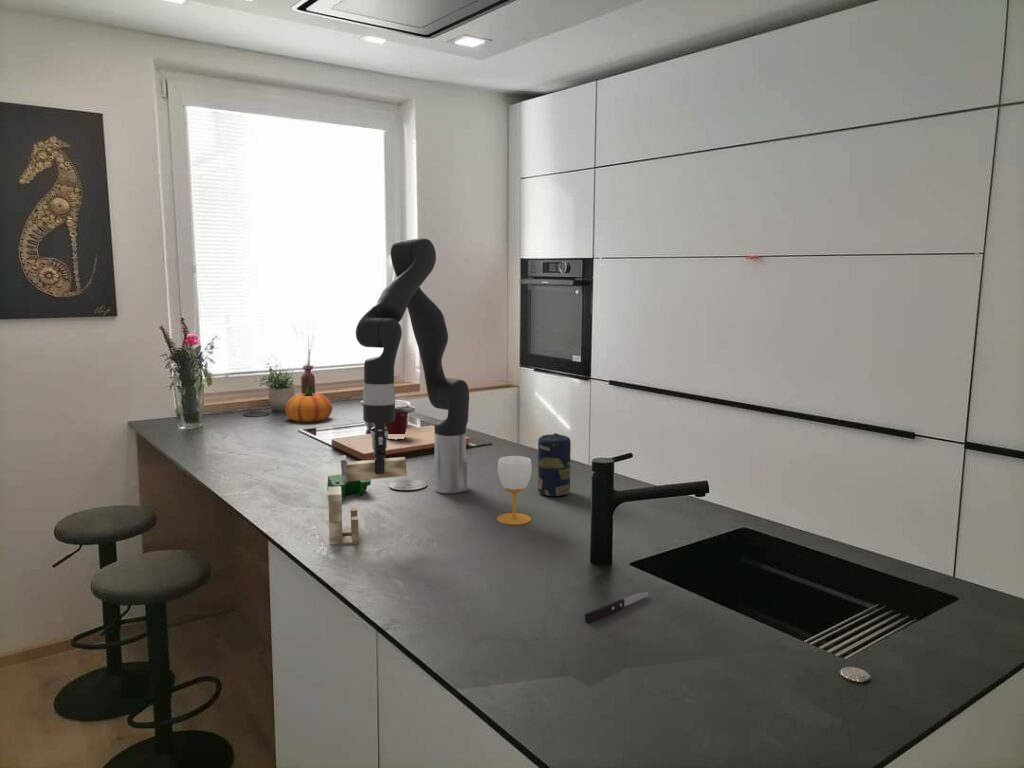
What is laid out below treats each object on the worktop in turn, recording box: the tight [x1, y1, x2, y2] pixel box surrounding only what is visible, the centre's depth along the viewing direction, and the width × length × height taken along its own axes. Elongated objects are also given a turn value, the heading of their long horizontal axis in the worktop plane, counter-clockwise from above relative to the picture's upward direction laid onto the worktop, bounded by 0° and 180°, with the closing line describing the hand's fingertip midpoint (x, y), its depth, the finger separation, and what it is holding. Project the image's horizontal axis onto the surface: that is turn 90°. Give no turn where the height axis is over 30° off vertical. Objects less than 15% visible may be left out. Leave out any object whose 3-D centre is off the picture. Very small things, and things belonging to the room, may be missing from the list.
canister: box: [537, 432, 572, 497], centre depth 214 cm, size 10×10×18 cm
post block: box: [327, 486, 360, 546], centre depth 176 cm, size 7×9×12 cm
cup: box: [496, 455, 533, 526], centre depth 191 cm, size 9×9×16 cm
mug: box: [385, 407, 408, 434], centre depth 284 cm, size 12×9×11 cm
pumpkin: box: [284, 385, 333, 423], centre depth 318 cm, size 19×19×15 cm
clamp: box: [326, 473, 372, 499], centre depth 212 cm, size 12×6×9 cm, turn 113°
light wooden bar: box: [340, 454, 407, 483], centre depth 177 cm, size 15×5×6 cm, turn 103°
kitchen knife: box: [584, 592, 649, 624], centre depth 141 cm, size 18×1×2 cm, turn 131°
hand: (379, 471), depth 178 cm, fingers closed on light wooden bar, 3 cm apart
